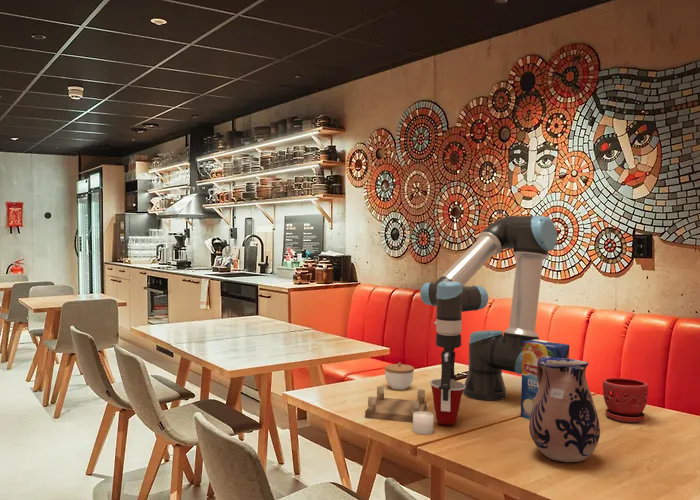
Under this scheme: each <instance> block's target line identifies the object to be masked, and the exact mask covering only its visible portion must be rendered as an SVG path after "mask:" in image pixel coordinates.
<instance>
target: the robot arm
mask: <svg viewBox="0 0 700 500" xmlns="http://www.w3.org/2000/svg"><path fill="white" fill-rule="evenodd" d="M476 238H477V240H476V241H475V242H474V243H472V245H471V246H470V247H469V248H468V249H467V250H466V251H464V253H463V254H462V255H461V256H460V257H459V258H458V259H457V260H456V261H455V262H454V263H453V264H452V265H451V266H449V268H448V269H447V270H446V271H445V272H443V274H442V275H441V276H439V278H438V279H437V280H436V281H435V282H433V281H431V282H425V283H424V284H423V285H422V286H421V288H420V294H419V295H420V300H421V301H422V303H424V304H425V305H426V306H427V305H428V306H432V307H436V316H435V317H436V321H434V325H435V326H436V329H435V331H436V332H437V333H436V335H435V346H436V347H438V348H443V350H442V351H441V352H440V353H441V354H440V357H441V364H440V365H441V378H440V379H441V386H439V389H441V411H448V412H450V402H451V389H450V381H451V380H454V381H455V380H457V375H455V373H456V372H455V361H456V351H455V349H457V348H460V347H461V345H462V335H461V333H462V327H463V326H462V322H463V320H462V315H463V313H465V312H472V311H473V312H474V311H475V312H477V311H479V310H483V309H484V308H486V306H487V305H488V303H489V294H488V292H487V289H486V288H484V287H482V286H480V285H471V286H467V285H466V284H467V283H468V282H469V281H470V280H471V279H472V277H474V276H475V274H477V272H478V271H479V270H480V269H482V268H483V266H484V265H485V264H486V263H488V262H489V261H490V259H491V258H492V257H493V256H497V255H499V254H500V253H501V252H502V251H504V250H509V249H511V250H512V254H513V255H514V256H515V258H516V261H515V272H514V279H513V280H514V281H513V290H512V300H511V307H510V314H509V315H510V316H509V326H508V328H506V329H505V330H503V331H502V330H500V329H499V330H498V329H496V330H495V329H491V330H489V329H488V330H477V331H473V332H471V333H470V335H469V341H468V342H469V343H468V373H467V376H466V379H465V381H464V384H465V386H466V388H465V389H464V390H463V393H462V395H464V396H466V397H468V398H470V399H474V400H482V401H499V400H504V399H506V398H507V387H506V384H505V382H504V378H503V371H506V372H511V373H515V374H517V375H522V351H523V342H524V341H529V340H535V339H537V340H540V336H539V334H538V333H537V332H536V326H537V315H538V309H539V308H538V306H539V296H540V288H541V279H542V271H543V269H542V268H543V262H544V260H546V259H547V258H548V256H549V252H551V251H553V250H554V249H555V247H556V245H557V244H558V243H557V241H558V233H557V229H556V225H555V223H554V222H553V221H552V219H551V218H549V217H547V216H543V215H508V216H504V217H502V218H500V219H498V220H495V221H494V222H492V223H491V224H490V225H488V226H487V227H486V228H485V229H483V230H482V231H481V232H480V233H479V234H478V235H477V237H476ZM444 384H447V385H444Z"/></svg>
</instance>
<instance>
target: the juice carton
mask: <svg viewBox="0 0 700 500" xmlns="http://www.w3.org/2000/svg"><path fill="white" fill-rule="evenodd" d="M543 356H550V357H554V358H564V359H565V358H567V359H570V344H567V343H566V344H565V343H560V342H556V341H555V342H554V341H548V340H543V339H539V340H537V339H535V340H529V341H524V342H523V351H522V374H521V387H520V389H521V390H520V391H521V394H520V396H521V397H520V418H524V419H528V420H530V414H531V409H532V406H533V403H534V399H535V397H536V394H537V392H538V389H539V384H538V378H537V363H538V360H539V359H540V358H541V357H543Z"/></svg>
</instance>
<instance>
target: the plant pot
mask: <svg viewBox="0 0 700 500" xmlns="http://www.w3.org/2000/svg"><path fill="white" fill-rule="evenodd" d="M602 390H603V391H602V393H603V394H602V395H603V400H604V403H605V405H606V409H605V414H606V415H607V417H609V418H610V419H611V420H615V421H619V422H624V423H639V422H641V421H643V420H645V418H646V413H644V410H645V408H646V405H647V401H648V393H649V384H648V383H647V382H646V381H644V380H640V379H634V378H625V377H608V378H604V379H603V380H602ZM617 394H618V395H617Z"/></svg>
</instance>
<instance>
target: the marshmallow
mask: <svg viewBox="0 0 700 500" xmlns="http://www.w3.org/2000/svg"><path fill="white" fill-rule="evenodd" d="M434 416H435V415H434V413H433V412H430V411H426V410H425V411H418V412H414V413H413V422H412V432H413V433H414V434H417V435H431V434H433V433H434V425H435V424H434V423H435V421H434V419H435V417H434Z"/></svg>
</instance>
